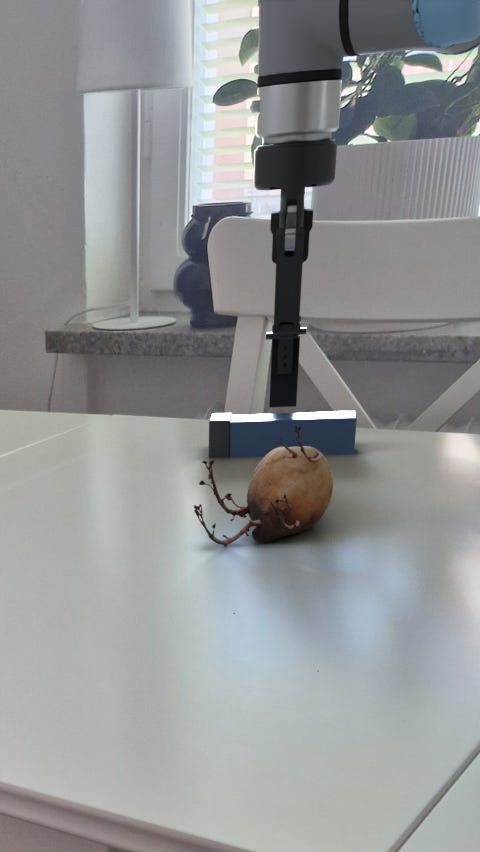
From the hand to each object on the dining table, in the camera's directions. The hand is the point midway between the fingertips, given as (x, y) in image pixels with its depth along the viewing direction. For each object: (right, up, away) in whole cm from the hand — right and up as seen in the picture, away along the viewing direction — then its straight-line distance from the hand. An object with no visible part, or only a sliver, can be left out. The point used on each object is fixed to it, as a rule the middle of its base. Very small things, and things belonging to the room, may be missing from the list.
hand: (282, 405), depth 120 cm
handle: (-1, -7, -4) cm, 8 cm away
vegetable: (-8, -19, -24) cm, 32 cm away
